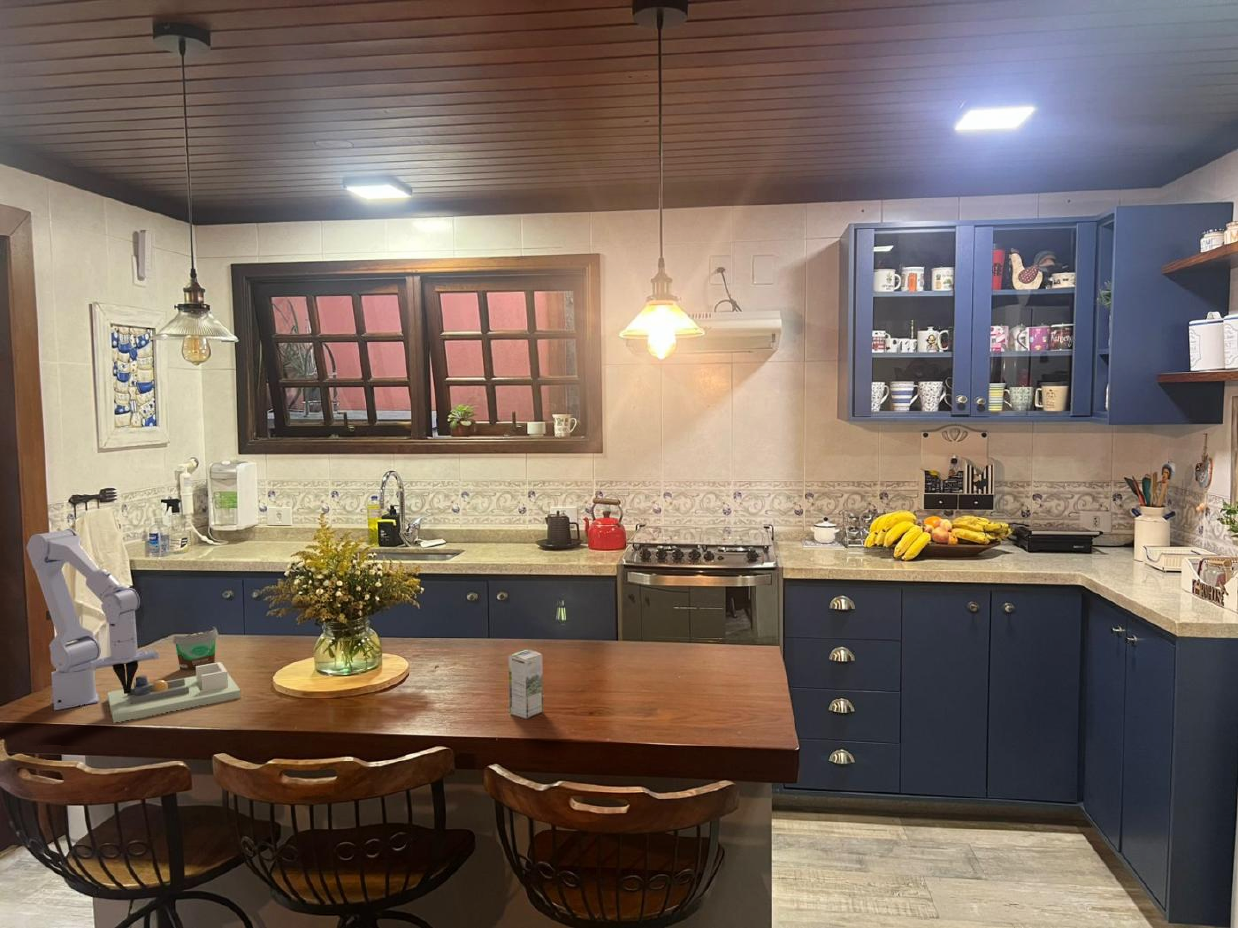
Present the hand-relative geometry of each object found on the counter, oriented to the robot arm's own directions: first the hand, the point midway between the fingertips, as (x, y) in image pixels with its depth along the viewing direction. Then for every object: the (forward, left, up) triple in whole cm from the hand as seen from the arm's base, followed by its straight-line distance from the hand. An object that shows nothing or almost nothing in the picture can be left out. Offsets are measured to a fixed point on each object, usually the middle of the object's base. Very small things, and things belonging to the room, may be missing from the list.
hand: (127, 692), depth 211 cm
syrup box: (+77, -65, -4) cm, 101 cm away
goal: (+19, 0, -2) cm, 19 cm away
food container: (+20, +25, -4) cm, 33 cm away
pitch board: (+10, 0, -4) cm, 11 cm away
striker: (+3, 0, -2) cm, 4 cm away
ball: (+7, 0, 0) cm, 7 cm away
